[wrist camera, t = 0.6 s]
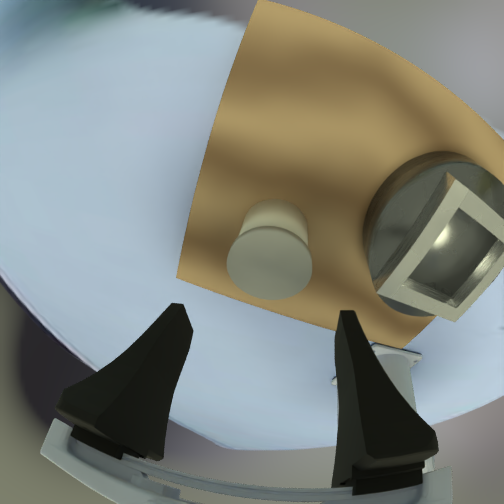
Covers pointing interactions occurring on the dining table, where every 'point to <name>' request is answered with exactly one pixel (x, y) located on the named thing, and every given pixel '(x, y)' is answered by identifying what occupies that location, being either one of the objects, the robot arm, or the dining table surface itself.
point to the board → (320, 158)
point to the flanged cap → (271, 251)
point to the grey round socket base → (435, 235)
